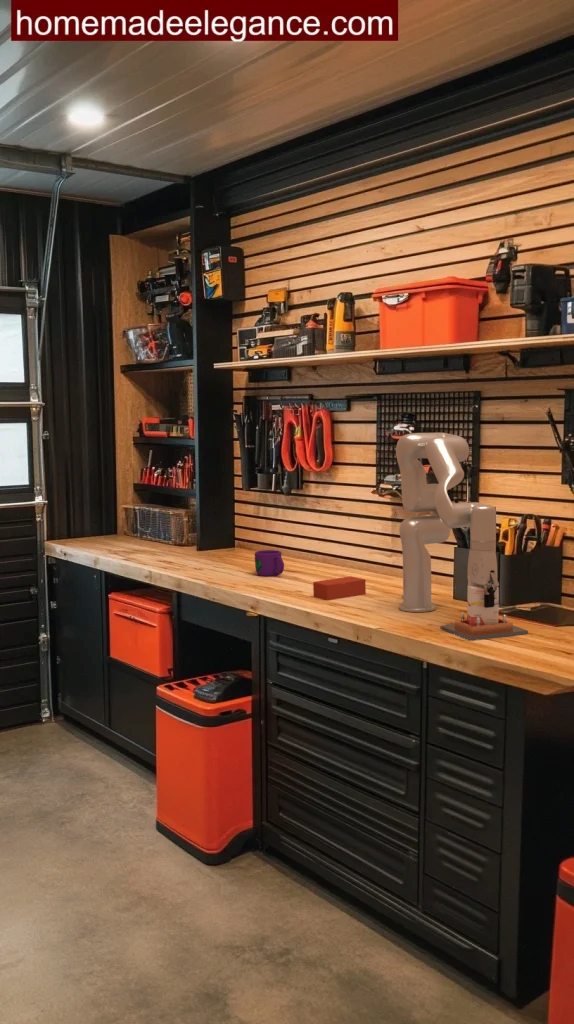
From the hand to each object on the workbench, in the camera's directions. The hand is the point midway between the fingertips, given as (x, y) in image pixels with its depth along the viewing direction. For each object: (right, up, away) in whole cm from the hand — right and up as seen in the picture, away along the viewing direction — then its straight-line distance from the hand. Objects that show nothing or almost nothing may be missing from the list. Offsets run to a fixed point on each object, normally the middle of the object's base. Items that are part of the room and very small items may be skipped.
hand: (483, 604), depth 274 cm
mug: (-66, +1, +112) cm, 130 cm away
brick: (-40, -4, +64) cm, 75 cm away
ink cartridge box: (0, -6, +1) cm, 6 cm away
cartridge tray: (0, -8, +1) cm, 8 cm away
